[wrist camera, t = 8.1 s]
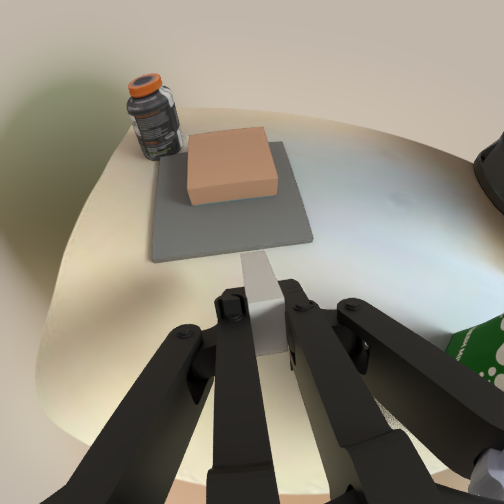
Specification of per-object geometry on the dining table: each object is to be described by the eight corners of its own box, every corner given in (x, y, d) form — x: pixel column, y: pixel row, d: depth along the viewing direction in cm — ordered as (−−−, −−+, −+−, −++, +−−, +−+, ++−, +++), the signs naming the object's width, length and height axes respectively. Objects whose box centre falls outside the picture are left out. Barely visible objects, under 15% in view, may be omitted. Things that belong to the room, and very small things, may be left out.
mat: (281, 146, 34) (282, 141, 34) (312, 242, 27) (313, 238, 26) (161, 161, 33) (160, 157, 33) (154, 263, 26) (151, 259, 26)
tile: (276, 197, 29) (262, 145, 33) (278, 178, 26) (263, 126, 31) (192, 207, 28) (192, 153, 33) (187, 189, 26) (188, 135, 30)
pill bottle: (190, 136, 36) (177, 67, 26) (172, 164, 33) (151, 90, 23) (156, 134, 37) (137, 70, 27) (136, 160, 34) (110, 93, 24)
